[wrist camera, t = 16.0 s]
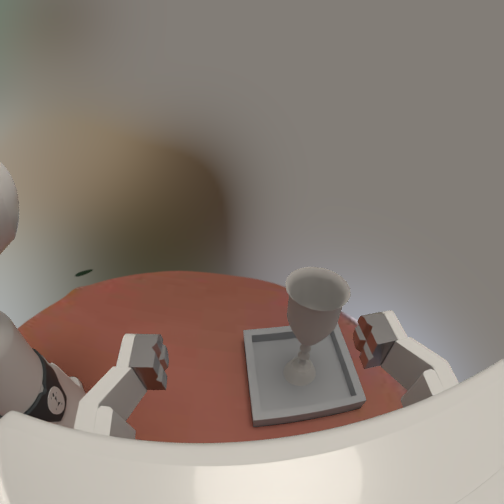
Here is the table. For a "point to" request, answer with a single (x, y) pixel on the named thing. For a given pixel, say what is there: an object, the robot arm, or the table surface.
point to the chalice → (312, 315)
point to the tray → (291, 396)
